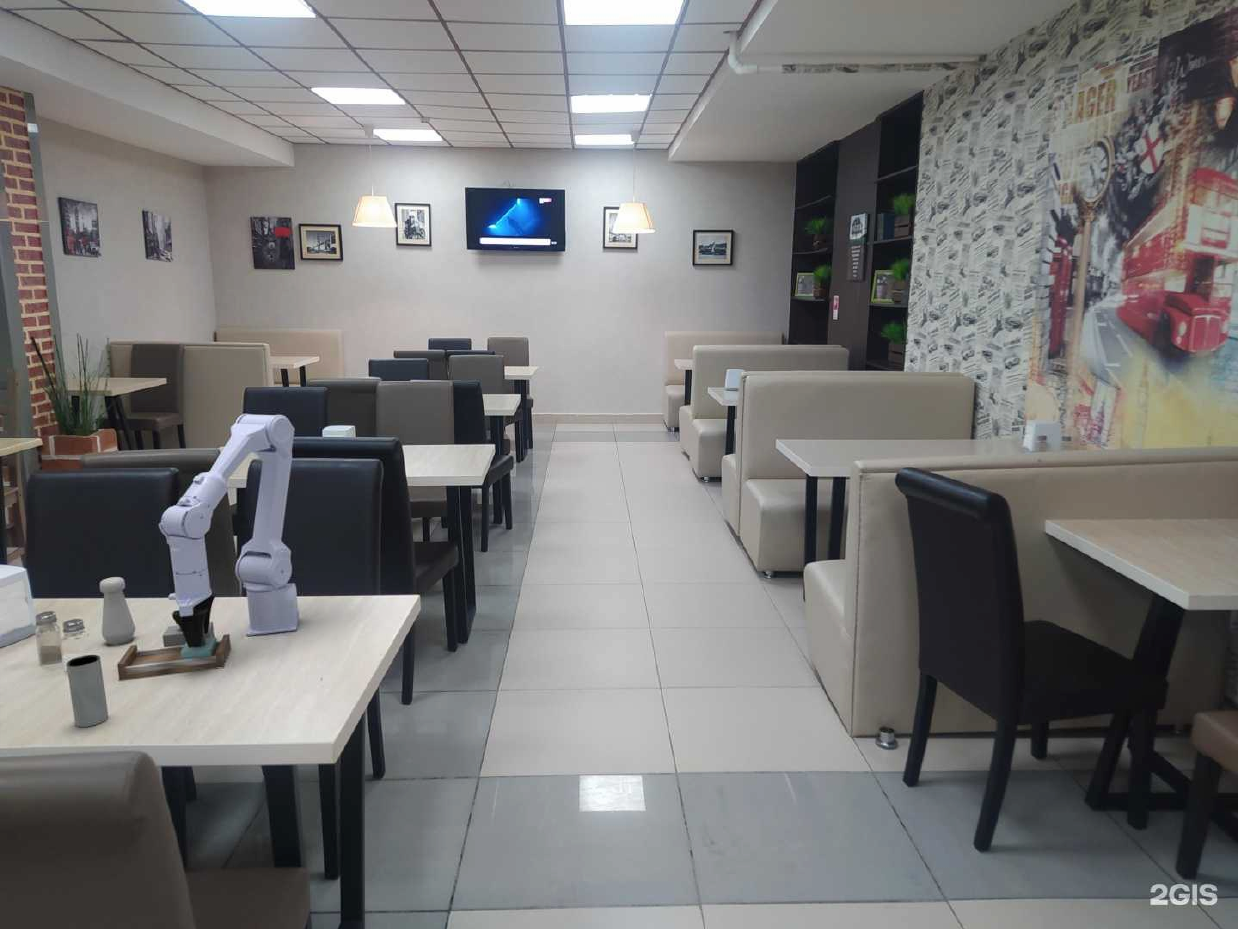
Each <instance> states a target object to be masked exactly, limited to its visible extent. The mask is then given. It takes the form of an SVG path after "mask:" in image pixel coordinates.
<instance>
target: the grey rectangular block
mask: <svg viewBox="0 0 1238 929" xmlns="http://www.w3.org/2000/svg"><path fill="white" fill-rule="evenodd" d="M206 638H215V627H214V621H210V622H209V630H208V633H207V634H205V639H206ZM162 640H163V641H162V642H163V647H170V646H179V645H185V644H186V640H185V637H184V635H183V632H182V630H181V628H180V627H179V625H177V624H176V625H170V626H167V628H166V629H165V631H164V633H163V635H162Z"/></svg>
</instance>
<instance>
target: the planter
mask: <svg viewBox="0 0 1238 929" xmlns="http://www.w3.org/2000/svg"><path fill="white" fill-rule="evenodd" d="M65 666H66V672H67V678H68V685H69V691H70V699H71V704H72V705H71V706H72V712H73V713H72V714H73V718H74V724H75V726H76V727H80V728H87V727H93V725H94V726H96V725H99V724H102V723H104V722H105V721H106V720H108V718H109V711H108V710H109V709H108V704H107V696H106V690H105V683H104V681H105V680H104V676H103V675H104V674H103V667H102V659H101V656H100V655H98V654H86V655H81V656H77V657H75V658H72V659H71V660H68V661H67V662H66V665H65Z"/></svg>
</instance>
